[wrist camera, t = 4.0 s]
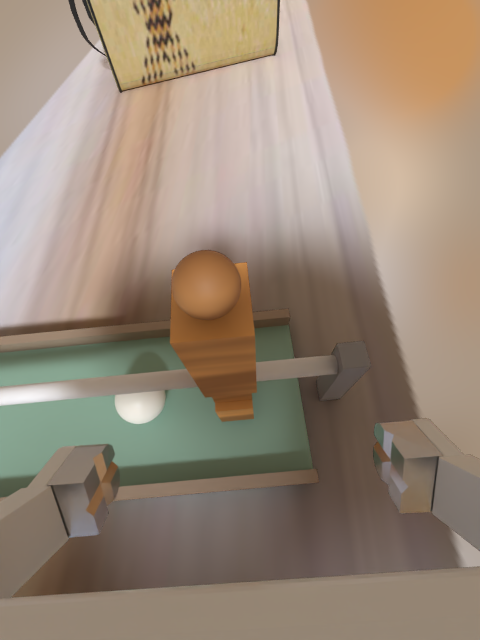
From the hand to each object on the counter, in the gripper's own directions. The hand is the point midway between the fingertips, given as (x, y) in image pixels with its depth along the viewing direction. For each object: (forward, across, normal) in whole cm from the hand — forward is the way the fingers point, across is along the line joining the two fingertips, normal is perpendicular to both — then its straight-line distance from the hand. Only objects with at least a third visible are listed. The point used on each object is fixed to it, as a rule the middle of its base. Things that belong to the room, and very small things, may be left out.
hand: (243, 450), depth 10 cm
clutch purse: (+52, +5, -31) cm, 61 cm away
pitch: (+14, +12, +7) cm, 20 cm away
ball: (+12, +8, +5) cm, 15 cm away
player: (+13, +1, +6) cm, 15 cm away
